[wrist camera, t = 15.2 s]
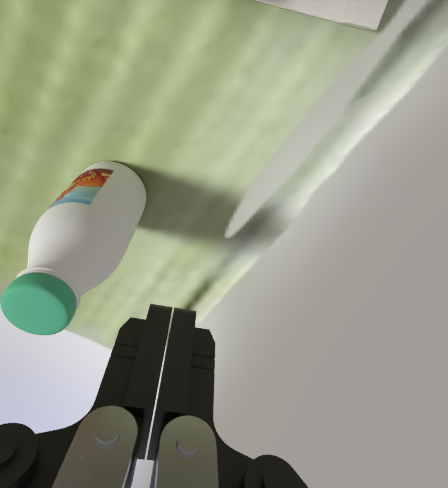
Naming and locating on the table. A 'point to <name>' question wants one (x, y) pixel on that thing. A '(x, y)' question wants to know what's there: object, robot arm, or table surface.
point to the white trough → (338, 10)
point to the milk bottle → (75, 247)
